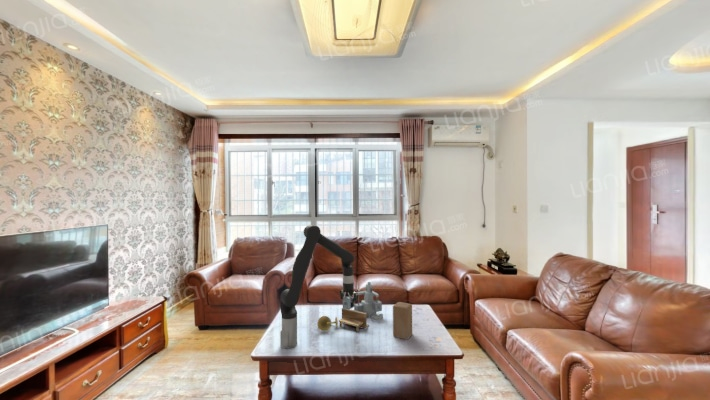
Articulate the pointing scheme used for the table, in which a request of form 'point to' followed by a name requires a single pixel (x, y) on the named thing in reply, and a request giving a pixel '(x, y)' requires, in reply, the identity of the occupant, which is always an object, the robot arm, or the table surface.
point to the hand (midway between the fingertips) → (348, 306)
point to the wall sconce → (325, 323)
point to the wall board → (354, 318)
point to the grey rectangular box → (347, 303)
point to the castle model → (369, 303)
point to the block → (402, 320)
